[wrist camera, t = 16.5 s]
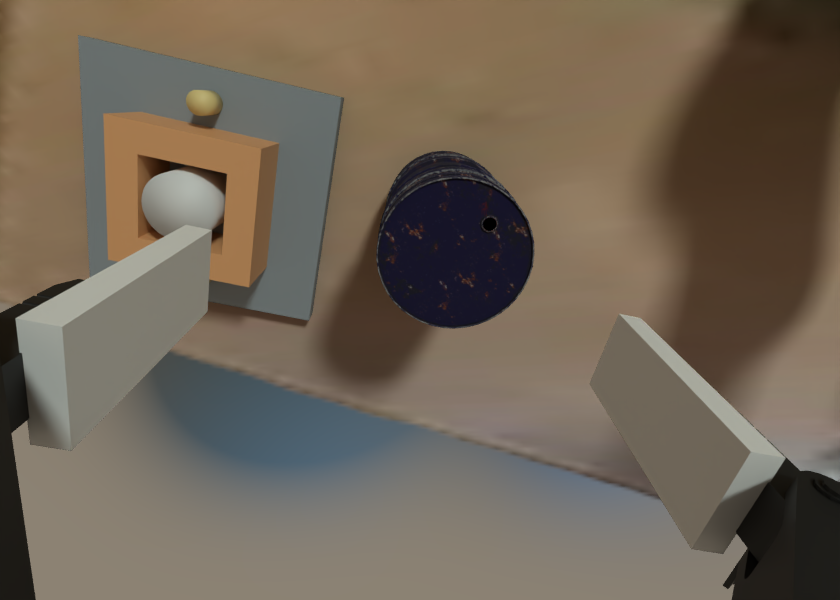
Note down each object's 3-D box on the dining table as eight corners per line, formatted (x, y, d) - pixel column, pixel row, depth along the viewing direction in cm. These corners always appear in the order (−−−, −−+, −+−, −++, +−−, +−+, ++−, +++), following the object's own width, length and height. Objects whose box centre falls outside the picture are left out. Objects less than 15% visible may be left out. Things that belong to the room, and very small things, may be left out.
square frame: (140, 111, 38) (103, 113, 33) (279, 143, 39) (261, 148, 34) (141, 242, 42) (108, 259, 38) (266, 267, 43) (248, 287, 39)
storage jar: (441, 279, 45) (453, 357, 32) (364, 208, 43) (340, 260, 29) (519, 204, 43) (570, 254, 29) (442, 123, 40) (457, 136, 26)
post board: (90, 37, 37) (22, 24, 31) (343, 97, 39) (330, 97, 33) (100, 273, 45) (47, 302, 38) (312, 314, 47) (295, 348, 40)
